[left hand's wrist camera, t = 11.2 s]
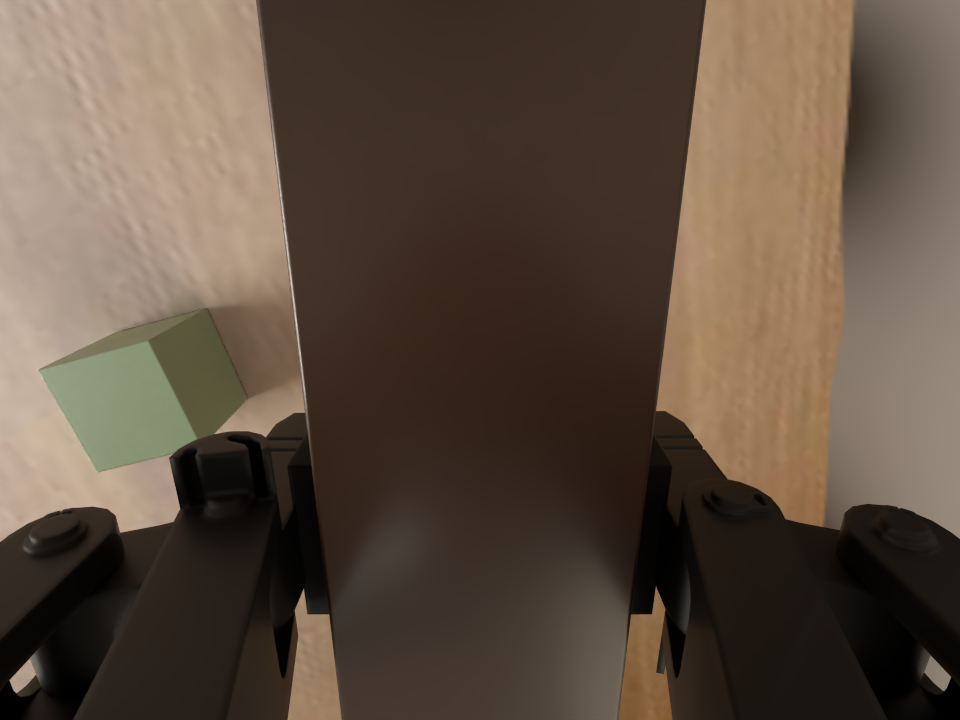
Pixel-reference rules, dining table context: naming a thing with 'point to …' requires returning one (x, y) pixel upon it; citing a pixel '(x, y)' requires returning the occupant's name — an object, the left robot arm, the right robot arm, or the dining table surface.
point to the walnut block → (480, 331)
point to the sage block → (146, 389)
